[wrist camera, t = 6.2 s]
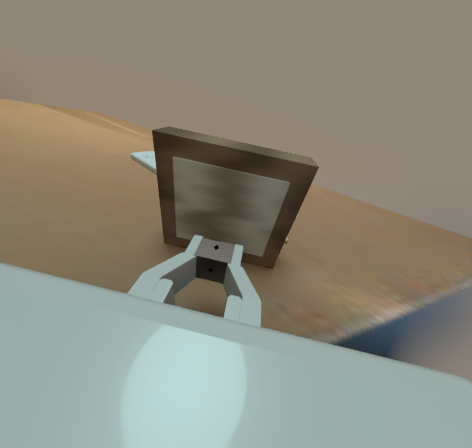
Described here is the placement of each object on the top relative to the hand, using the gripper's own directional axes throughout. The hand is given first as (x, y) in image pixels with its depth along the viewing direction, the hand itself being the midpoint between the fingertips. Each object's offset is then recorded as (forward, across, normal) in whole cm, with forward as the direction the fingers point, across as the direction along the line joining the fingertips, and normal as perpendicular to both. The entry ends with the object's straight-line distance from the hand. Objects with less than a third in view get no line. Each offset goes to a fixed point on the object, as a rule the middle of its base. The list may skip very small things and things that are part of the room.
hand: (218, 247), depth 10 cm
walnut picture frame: (+6, -1, -6) cm, 9 cm away
